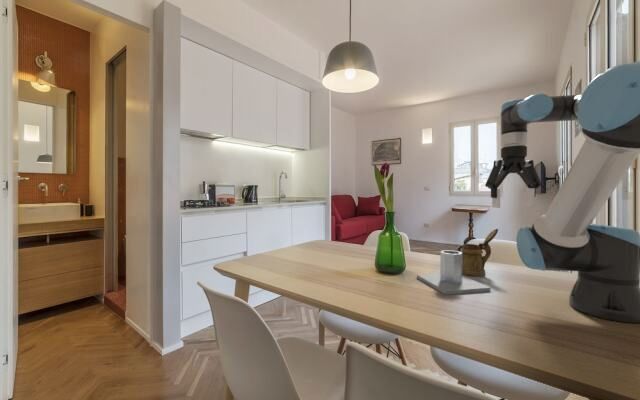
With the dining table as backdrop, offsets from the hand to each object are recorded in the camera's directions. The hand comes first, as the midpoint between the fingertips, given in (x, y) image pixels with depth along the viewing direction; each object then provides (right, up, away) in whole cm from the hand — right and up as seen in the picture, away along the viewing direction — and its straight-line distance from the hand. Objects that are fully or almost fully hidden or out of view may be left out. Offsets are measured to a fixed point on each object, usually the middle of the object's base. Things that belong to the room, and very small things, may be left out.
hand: (513, 207), depth 99 cm
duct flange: (-22, -27, 0) cm, 35 cm away
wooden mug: (-6, -27, +12) cm, 30 cm away
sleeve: (-22, -26, 0) cm, 34 cm away
